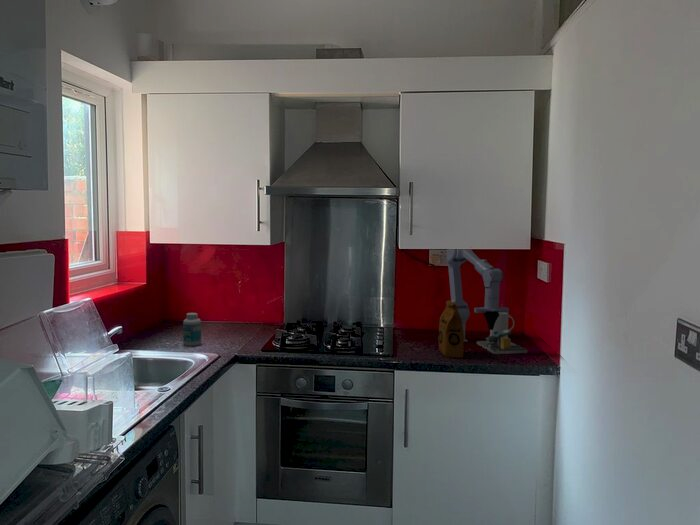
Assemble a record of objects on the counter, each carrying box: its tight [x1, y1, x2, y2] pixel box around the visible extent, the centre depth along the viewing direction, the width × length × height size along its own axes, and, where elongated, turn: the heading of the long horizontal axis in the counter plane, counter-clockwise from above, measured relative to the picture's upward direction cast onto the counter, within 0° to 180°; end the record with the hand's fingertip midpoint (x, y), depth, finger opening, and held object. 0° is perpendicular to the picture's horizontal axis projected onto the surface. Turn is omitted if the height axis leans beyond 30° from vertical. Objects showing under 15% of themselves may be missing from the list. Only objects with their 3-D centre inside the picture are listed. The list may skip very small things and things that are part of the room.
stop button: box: [488, 335, 497, 343], centre depth 232 cm, size 4×4×2 cm
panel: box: [476, 331, 528, 355], centre depth 233 cm, size 15×18×6 cm
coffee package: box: [437, 299, 465, 359], centre depth 221 cm, size 10×12×22 cm
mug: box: [489, 312, 515, 338], centre depth 254 cm, size 12×8×12 cm
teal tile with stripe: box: [485, 330, 512, 341], centre depth 239 cm, size 11×4×1 cm, turn 100°
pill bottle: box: [182, 312, 202, 347], centre depth 231 cm, size 8×7×14 cm
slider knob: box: [501, 336, 512, 348], centre depth 227 cm, size 3×3×4 cm
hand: (490, 329), depth 225 cm, fingers closed
